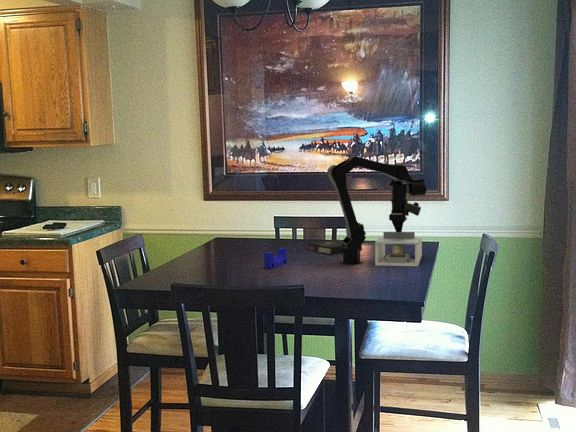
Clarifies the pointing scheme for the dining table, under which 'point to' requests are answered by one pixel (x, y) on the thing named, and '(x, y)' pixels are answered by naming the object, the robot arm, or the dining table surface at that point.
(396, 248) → the jaw peg
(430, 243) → the dining table surface
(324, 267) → the dining table surface
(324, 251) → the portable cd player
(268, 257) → the cable clip
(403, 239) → the lid
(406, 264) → the housing
